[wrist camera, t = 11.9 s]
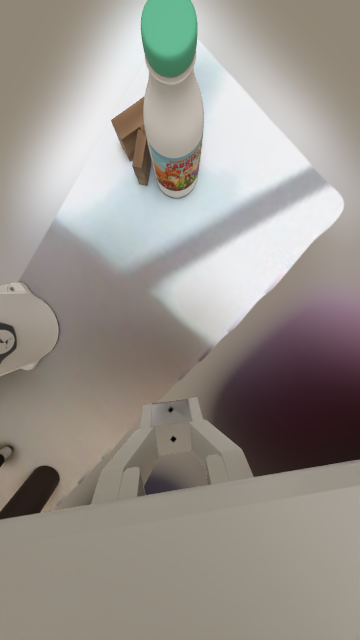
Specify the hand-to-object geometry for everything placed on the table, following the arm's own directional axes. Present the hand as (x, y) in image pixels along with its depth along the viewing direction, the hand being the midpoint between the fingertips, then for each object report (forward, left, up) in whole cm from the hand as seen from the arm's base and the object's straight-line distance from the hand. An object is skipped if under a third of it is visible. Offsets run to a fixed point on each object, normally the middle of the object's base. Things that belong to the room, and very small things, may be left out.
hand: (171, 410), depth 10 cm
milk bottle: (-1, +27, -29) cm, 40 cm away
